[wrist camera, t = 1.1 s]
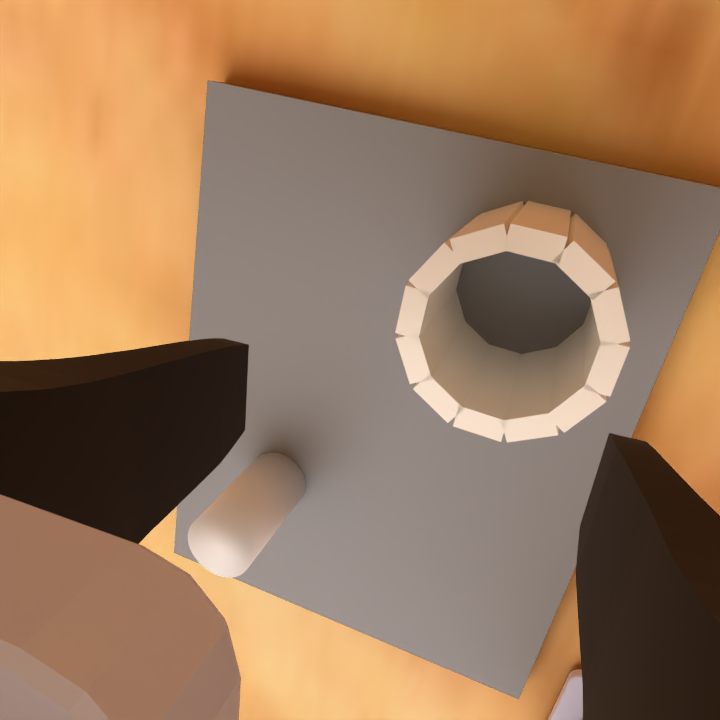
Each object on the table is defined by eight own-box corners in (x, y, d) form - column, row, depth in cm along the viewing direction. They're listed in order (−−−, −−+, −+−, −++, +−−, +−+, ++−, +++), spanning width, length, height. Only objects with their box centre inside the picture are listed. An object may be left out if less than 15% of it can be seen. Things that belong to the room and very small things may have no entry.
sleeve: (642, 227, 17) (664, 260, 12) (581, 389, 19) (581, 468, 14) (462, 185, 18) (424, 202, 14) (423, 342, 20) (379, 402, 16)
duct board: (728, 188, 17) (789, 211, 12) (520, 679, 25) (506, 812, 20) (224, 82, 20) (112, 66, 15) (186, 539, 28) (105, 623, 24)
